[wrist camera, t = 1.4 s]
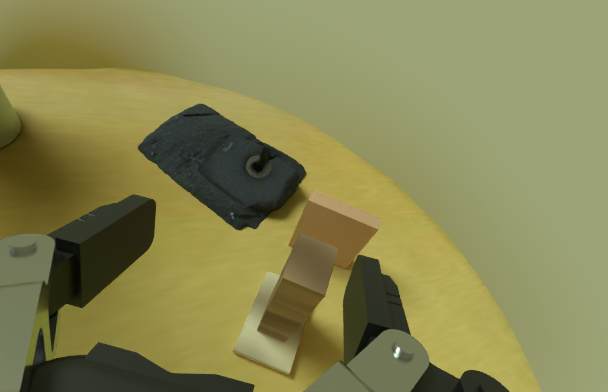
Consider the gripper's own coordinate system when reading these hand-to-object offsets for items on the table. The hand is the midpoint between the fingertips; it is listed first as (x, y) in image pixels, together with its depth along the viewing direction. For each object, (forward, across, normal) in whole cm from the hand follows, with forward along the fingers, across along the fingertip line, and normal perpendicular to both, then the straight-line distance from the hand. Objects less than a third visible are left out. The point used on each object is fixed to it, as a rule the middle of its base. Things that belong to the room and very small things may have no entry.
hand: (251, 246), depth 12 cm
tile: (+25, -5, +14) cm, 30 cm away
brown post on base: (+16, -2, +19) cm, 25 cm away
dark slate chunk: (+33, +12, +9) cm, 36 cm away
